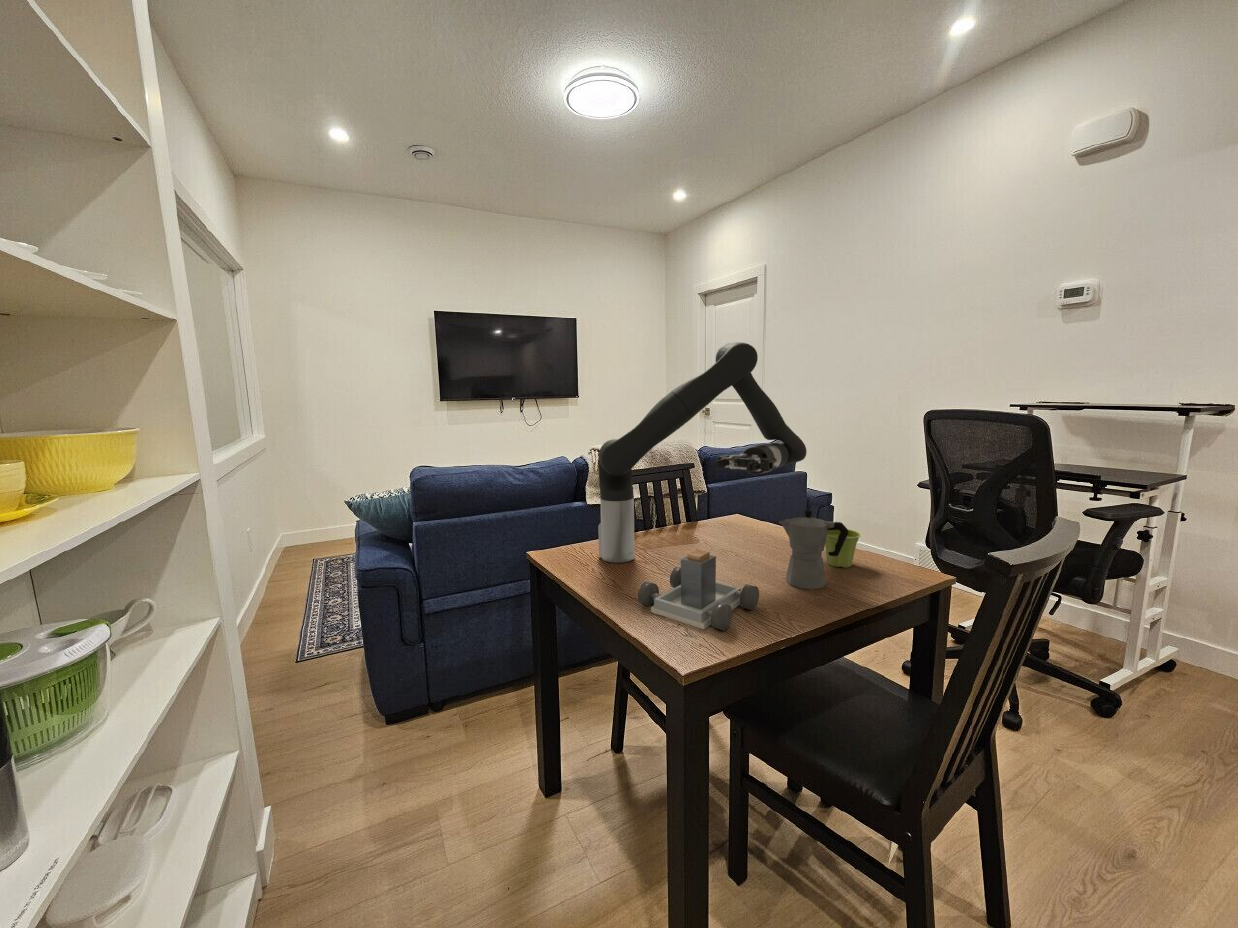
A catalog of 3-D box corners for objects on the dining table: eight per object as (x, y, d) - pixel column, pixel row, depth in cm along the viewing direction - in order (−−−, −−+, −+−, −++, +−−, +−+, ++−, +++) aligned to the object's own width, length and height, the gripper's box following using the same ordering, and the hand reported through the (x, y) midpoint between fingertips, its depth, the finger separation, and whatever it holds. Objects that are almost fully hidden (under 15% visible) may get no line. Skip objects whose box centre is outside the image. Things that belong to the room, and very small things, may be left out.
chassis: (638, 607, 111) (637, 585, 111) (681, 584, 124) (681, 564, 123) (719, 634, 98) (719, 609, 98) (759, 605, 111) (759, 583, 110)
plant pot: (834, 556, 143) (835, 525, 141) (866, 565, 135) (868, 533, 133) (812, 562, 138) (814, 531, 136) (844, 572, 130) (846, 539, 128)
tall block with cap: (680, 603, 111) (680, 554, 109) (695, 594, 115) (696, 547, 113) (701, 609, 107) (701, 559, 106) (715, 600, 112) (715, 551, 110)
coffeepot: (774, 585, 122) (776, 511, 120) (780, 572, 131) (782, 503, 128) (845, 595, 116) (848, 517, 113) (846, 581, 124) (849, 508, 122)
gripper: (737, 443, 140) (707, 449, 128) (788, 446, 131) (760, 452, 119) (737, 470, 142) (706, 478, 129) (787, 475, 132) (759, 484, 120)
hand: (732, 466), depth 124 cm, fingers open, 8 cm apart
